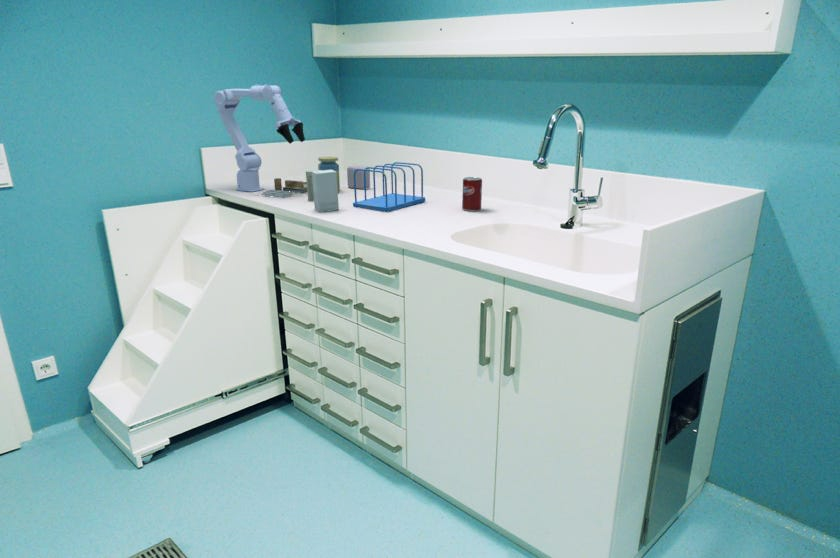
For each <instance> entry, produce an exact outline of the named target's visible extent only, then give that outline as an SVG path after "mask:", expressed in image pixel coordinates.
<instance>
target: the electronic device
mask: <svg viewBox="0 0 840 558" xmlns="http://www.w3.org/2000/svg"><path fill="white" fill-rule="evenodd" d="M367 167H368V166H366V165H355V164H353V165H349V166H347V169H346V171H347V172H346V173H347V187H348V188H349V187H350V188H349V189H354V171H355V170H356V169H366V168H367ZM367 170H371V169H367ZM370 172H371V171H366V173H365V174H366V188H368V189H369V188H370V187H371V175H370V174H371V173H370ZM355 180H356V188H359V189H358V190H364V171H360V170H358V171H356V173H355Z"/></svg>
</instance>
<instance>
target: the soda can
mask: <svg viewBox="0 0 840 558" xmlns="http://www.w3.org/2000/svg"><path fill="white" fill-rule="evenodd" d="M482 193H483V179H482V178H481V177H477V176H468V177H464V178H463V179H462V197H461V198H462V201H461V207H462V210H463V211H464V212H480V211H481V209H482V197H483V196H482Z"/></svg>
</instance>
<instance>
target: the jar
mask: <svg viewBox="0 0 840 558" xmlns="http://www.w3.org/2000/svg"><path fill="white" fill-rule="evenodd" d="M317 158H318V159H317V160H318V161H319V162H320V163H318V164H317V167H318V168H317V170H334V171H336V172H337V188H338V193H339V192H340V191H341V186H340V184H341V183H340V165H339V164H338V163H337V161H339V157H337V156H321V157H317Z"/></svg>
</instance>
